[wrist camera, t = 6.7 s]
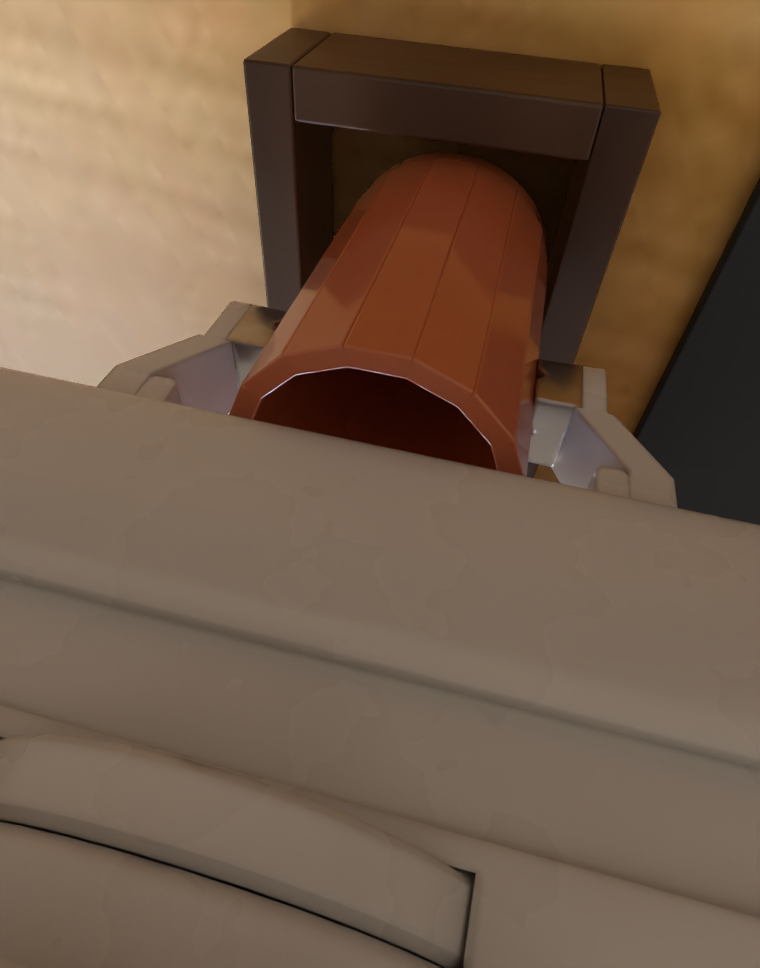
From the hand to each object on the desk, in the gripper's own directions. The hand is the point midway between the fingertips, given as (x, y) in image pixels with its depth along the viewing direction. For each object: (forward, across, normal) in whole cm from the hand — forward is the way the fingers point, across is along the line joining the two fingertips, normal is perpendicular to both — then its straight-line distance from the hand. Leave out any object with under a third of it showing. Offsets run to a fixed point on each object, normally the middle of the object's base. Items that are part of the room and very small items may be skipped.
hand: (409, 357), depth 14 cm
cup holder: (+7, 0, +4) cm, 9 cm away
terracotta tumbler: (+5, 0, 0) cm, 5 cm away
